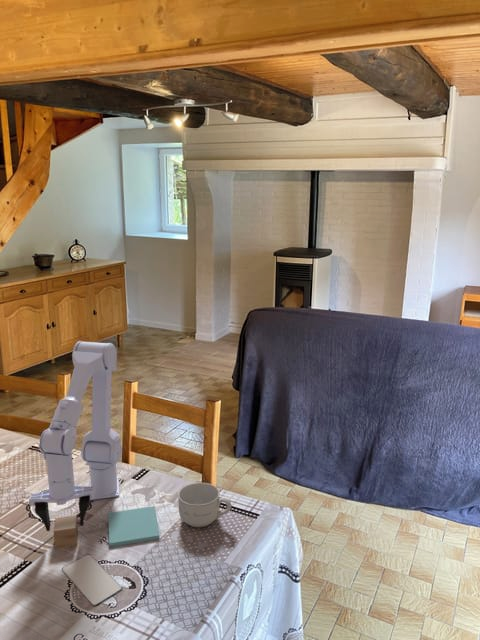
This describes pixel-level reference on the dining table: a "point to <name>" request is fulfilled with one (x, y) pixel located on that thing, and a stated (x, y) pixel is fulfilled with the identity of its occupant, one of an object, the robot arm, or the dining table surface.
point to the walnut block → (65, 531)
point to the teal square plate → (133, 526)
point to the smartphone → (92, 580)
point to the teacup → (201, 504)
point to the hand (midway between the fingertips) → (65, 525)
